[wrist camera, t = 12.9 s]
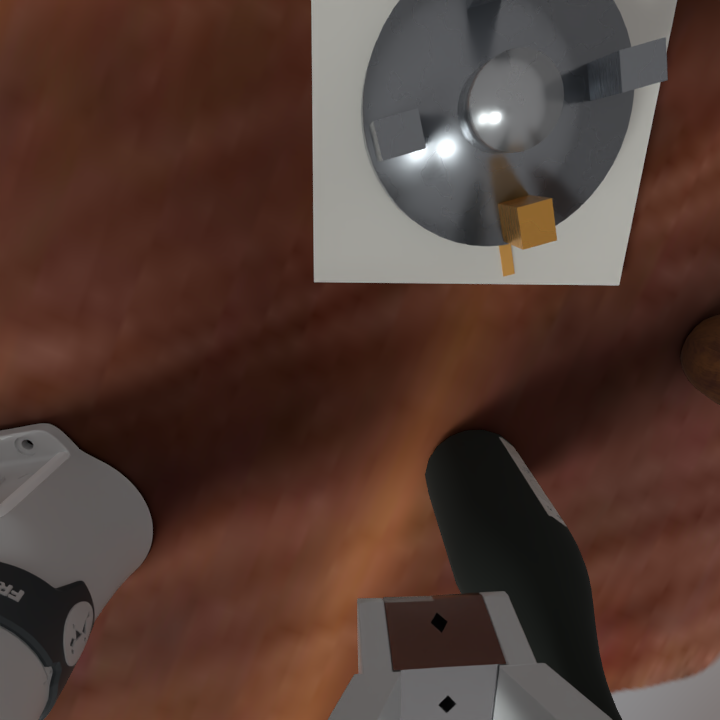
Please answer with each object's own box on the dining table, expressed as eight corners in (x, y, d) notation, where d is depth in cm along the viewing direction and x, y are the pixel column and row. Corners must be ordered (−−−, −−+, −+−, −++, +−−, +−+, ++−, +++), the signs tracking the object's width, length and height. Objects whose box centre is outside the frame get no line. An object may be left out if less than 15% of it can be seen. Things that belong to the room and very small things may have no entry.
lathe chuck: (514, 282, 36) (548, 304, 31) (314, 161, 33) (312, 160, 27) (664, 61, 32) (736, 38, 26) (453, -108, 28) (483, -176, 23)
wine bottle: (520, 422, 42) (899, 926, 14) (512, 502, 45) (814, 1055, 17) (423, 426, 42) (617, 952, 14) (421, 507, 45) (578, 1080, 17)
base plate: (314, 277, 37) (313, 282, 35) (311, -104, 29) (310, -118, 28) (608, 281, 38) (619, 285, 37) (679, -83, 31) (697, -96, 29)
